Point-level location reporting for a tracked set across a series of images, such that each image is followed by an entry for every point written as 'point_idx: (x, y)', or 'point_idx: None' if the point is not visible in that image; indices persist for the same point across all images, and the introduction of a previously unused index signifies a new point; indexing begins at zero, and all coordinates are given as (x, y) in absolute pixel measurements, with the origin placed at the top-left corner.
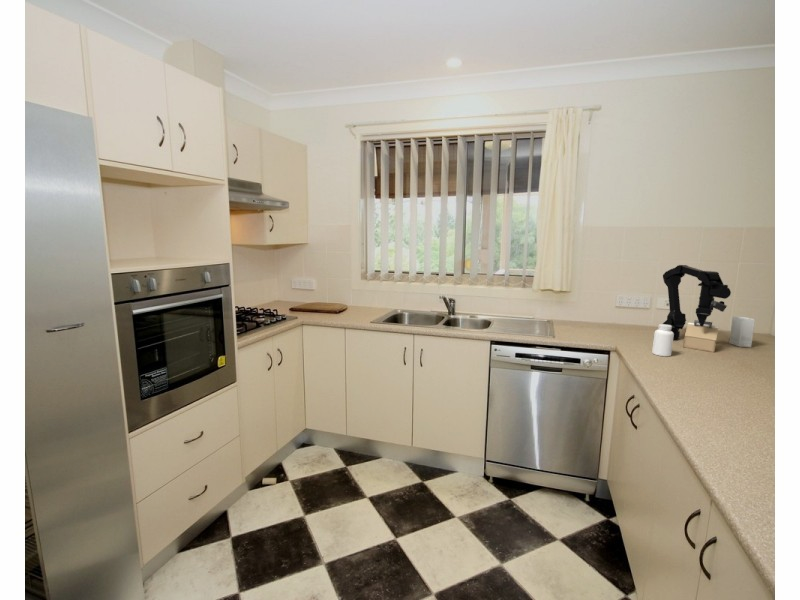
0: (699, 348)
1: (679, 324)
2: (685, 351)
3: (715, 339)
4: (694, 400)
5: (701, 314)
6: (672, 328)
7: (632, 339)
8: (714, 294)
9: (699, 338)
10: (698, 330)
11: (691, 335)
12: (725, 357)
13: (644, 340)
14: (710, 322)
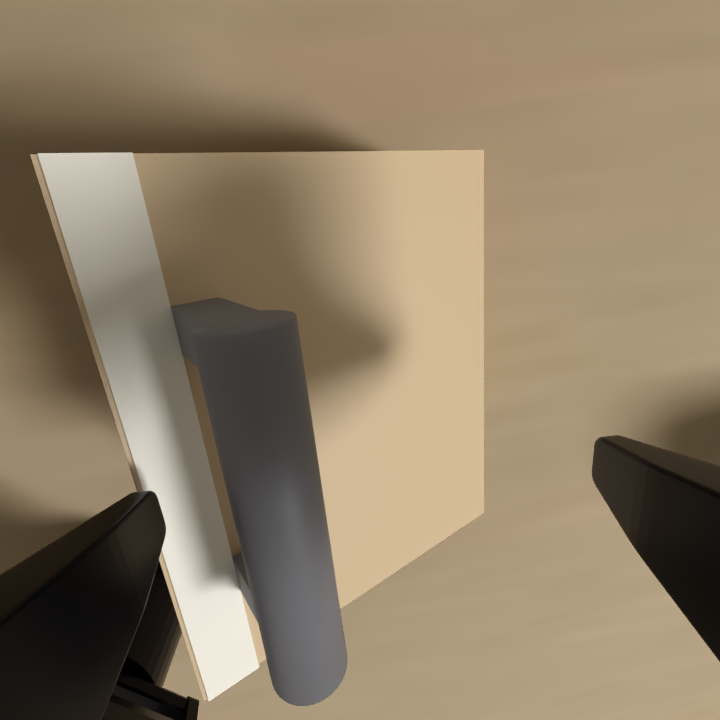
0: None
1: (106, 716)
2: (598, 383)
3: (469, 161)
4: None
5: None
6: (151, 688)
7: (471, 716)
8: None
9: None
10: (357, 451)
11: (468, 460)
12: (584, 31)
13: (432, 668)
14: (276, 376)
